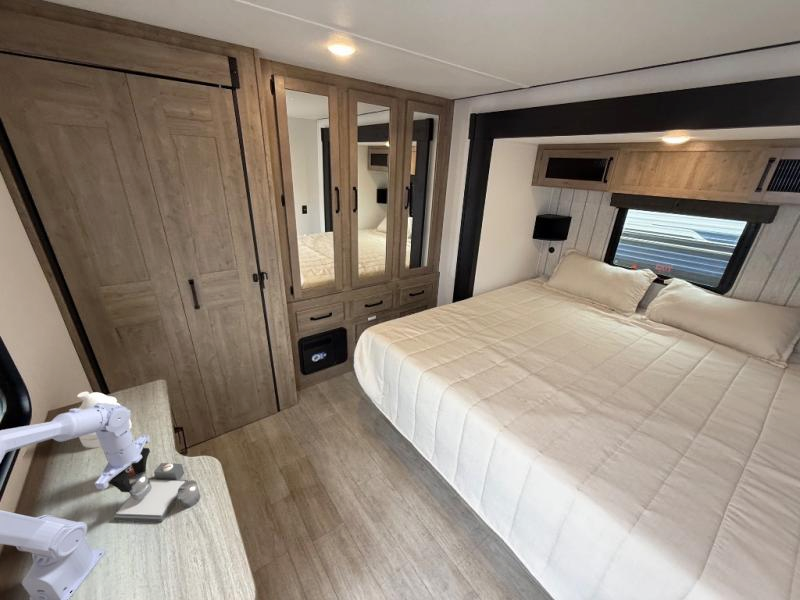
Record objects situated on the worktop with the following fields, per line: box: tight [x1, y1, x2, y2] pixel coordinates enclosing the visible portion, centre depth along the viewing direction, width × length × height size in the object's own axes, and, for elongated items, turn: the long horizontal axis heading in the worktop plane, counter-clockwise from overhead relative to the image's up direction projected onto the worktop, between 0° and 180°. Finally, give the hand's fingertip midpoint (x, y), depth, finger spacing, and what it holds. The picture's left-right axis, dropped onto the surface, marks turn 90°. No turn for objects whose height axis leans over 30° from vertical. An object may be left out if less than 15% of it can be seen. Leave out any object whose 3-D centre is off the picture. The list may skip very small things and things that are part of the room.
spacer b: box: [178, 480, 201, 509], centre depth 85 cm, size 4×4×5 cm
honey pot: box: [77, 391, 133, 449], centre depth 102 cm, size 13×13×18 cm
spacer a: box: [128, 472, 152, 500], centre depth 83 cm, size 4×4×5 cm
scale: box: [112, 462, 189, 523], centre depth 86 cm, size 14×12×4 cm
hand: (133, 481), depth 83 cm, fingers closed on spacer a, 4 cm apart
